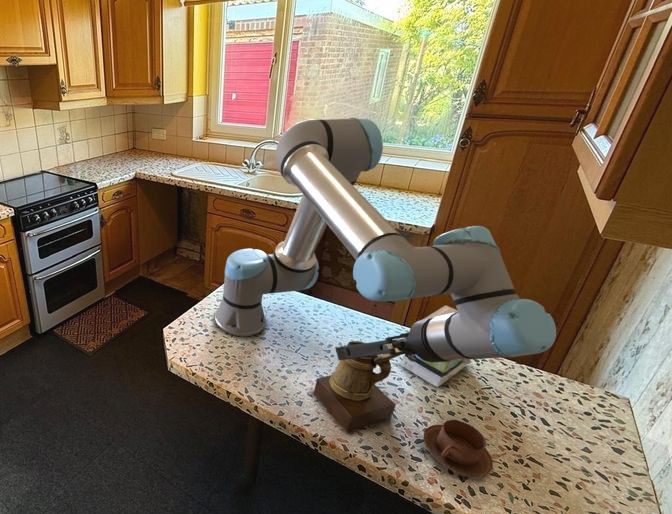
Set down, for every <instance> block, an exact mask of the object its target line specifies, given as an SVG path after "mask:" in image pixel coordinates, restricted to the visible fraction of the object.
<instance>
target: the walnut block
mask: <svg viewBox="0 0 672 514" xmlns="http://www.w3.org/2000/svg"><path fill="white" fill-rule="evenodd" d="M331 376H332V374H330V375H326V376H321V377H318V378H316V381H315V386H314V389H313V395H314V396H315V397H316V398H317V400H318V401H319V402H320V403H321V404H322V405H323V407H324V408H325V409H326V410H327V411H328V413H329V414H330V415H331V416H332V417H333V418H334V419H335V421H336V422H337V423H338V424H339V426H340V427H341V428H342V429H343V430H344V431H345V433H351V432H354V431H357V430H361V429H364V428H368V427H371V426H374V425H379V424H382V423H385V422H388V421H390V420H391V419H392V416H393V414H394V411H395V408H396V406H397V404H396V403H395V402H394V401H393V400H392V399H391V398H390V397H389V396H388V395H387V394H385V392H383V391H382V390H381V389H380V388H379V387H378V386H377V385H376V384H374V385H373V391H372V395H371V396H370V397H369V398H367V399H365V400H361V401H357V400H351V399H348V398H345V397H343V396H341V395H339V394H338V393H336V392H335V391H334V390H333V389H332V387H331V385H330V378H331Z"/></svg>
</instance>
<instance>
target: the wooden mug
mask: <svg viewBox="0 0 672 514" xmlns="http://www.w3.org/2000/svg"><path fill="white" fill-rule="evenodd" d="M350 342H353V344H356V345H357V344H364V343H365V342H363V341H359V340H352V341H350ZM346 345H349V342H347V344H346ZM394 349H395V351H396V352H402V351H399V350H398V349H397V348H394ZM406 351H408V350H406ZM400 356H401V355H394V356H392V355H390V354H382V355H374V356H366V357H360V358H354V359H346V360H338V364H337V365H336V368H335V369H334V371H333V372H332V374H331V375H332V376H331V378H330V385H331V387H332V389H333V390H334V391H335V392H336V393H338V394H339V395H341V396H343V397H345V398H348V399H351V400H357V401H361V400H365V399H367V398H369V397H370V396H371V395H372V391H373V385H374V384H375V385H376V384H378V383H379V382H382V381H384V380H385V379H387V378H388V377H389V376H390V374H391V371H392V364H391V360H392V359H395V358H398V357H400ZM377 366H378V367H379V369H380V372H378V373H377V372H375V371H374V369H376V368H377Z"/></svg>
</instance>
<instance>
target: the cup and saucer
mask: <svg viewBox="0 0 672 514" xmlns="http://www.w3.org/2000/svg"><path fill="white" fill-rule="evenodd" d="M423 442H424V445H425V447H426V449H427V451H428V452H429V453H430V455H431V456H432V457H433V458H434V459H435V460H436V461H437V462H439V463H440V464H441V465H443V466H444V467H446V468H447V469H449V470H451V471H453V472H454V473H457V474H460V475H463V476H467V477H472V478H481V477H485V476H486V475H488V474H490V473H491V472H492V471H493V468H494V462H493V458H492V455H491V454H490V452H489V450H488V449H487V448H486V447H487V440H486V438H485V436H484V434H482V432H480V431H479V430H478V429H477V428H476V427H474V426H473V425H471V424H470V423H466V422H465V421H462V420H458V419H447V420H446V421H445V422H443V423H442V424H432V425H430V426H428V427H427V428H426V429H425V430H424V432H423Z"/></svg>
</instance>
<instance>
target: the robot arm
mask: <svg viewBox="0 0 672 514" xmlns="http://www.w3.org/2000/svg"><path fill="white" fill-rule="evenodd" d="M382 136H383V135H382V133H381V130H380V128H379V126H378V125H377V124H376V123H375V122H374V121H373V120H371V119H368V118H357V117H349V118H320V119H319V118H318V119H317V118H314V119H313V118H311V119H305V120H301V121H299V122H296V123H294V124H293V125H291V126H290V127H289V128H287V129H286V131H285V132H284V133H283V134H282V136H280V139H279V140H278V143H277V145H276V148H275V164H276V167H277V170H278V172H279V174H280V175H281V176H282V178H283V179H284V180H285V182H286V184H289V185H290V186H294V187H297V189H299V192H301V194H302V195H301V197H300V198H301V199H300V201H299V203H298V205H297V208H296V211H295V213H294V216H293V218H292V221H291V223H290V226H289V229H288V231H287V233H286V235H285V238H284V240H283V241H281V242H278V244H277V245H276V247H275V249H274V252H273V253H271V254H270V253H269V254H267V253H265V252H264V251H263V250H260V249H257V248H255V249H253V248H242V249H239V250H235V251H234V252H232V253H231V254H230V255H229V256H228V257H227V259H226V263H225V267H224V281H223V293H222V299H221V301H220V303H219V305H218V307H217V309H216V311H215V315H214V320H215V324H216V326H217V327H218V328H219V329H220V330H221V331H223V332H224V333H226V334H229V335H232V336H235V337H251V336H256V335H258V334H260V333H261V332H262V331H263V330H264V328H265V325H266V318H267V313H268V312H266V313H265V312H264V307H263V296H264V295H268V294H279V293H281V294H282V293H290V292H300V291H303V290H308V289H310V288H312V287H313V286H314V285H315V283H316V282H317V280H318V277H319V271H318V270H319V269H320V266H319V261H318V259H317V257H316V253H315V251H316V249H317V247H318V245H319V243H320V241H321V239H322V237H323V235H324V233H325V231H326V229H327V227H329V229H330V230H331V231H332V232H333V234H334V235H335V236H336V237H337V238H338V240H339V241H340V243H342V245H343V246H344V247H345V249H346V250H347V251H348V252H349V254H350V255H351V256H352V258H353V259H354V260H355V262H354V265H353V268H352V277H353V280H354V281H355V282H356V285H355V287H356V289H357V292H359V294H360V295H362V297H364V298H365V299H367V300H368V301H372V302H403V301H406V300H411V299H419V298H425V297H435V296H442V295H443V296H444V295H450V296H451V298H452V301H453V304H454V306H455V307H456V310H457V311H458V312H455V313H450V314H446V315H441V316H437V317H434V318H429V319H424V318H423V319H424V320H422V319H420V320H417V321H416V322H414V323H413V324H412V325H411V326H410V328H409V331H408V332H404V333H400V334H399V335H395V336H393V335H392V336H387V337H385V339H383V340H378V341H371V342H363V343H364V344H357V345H356V344H353V342H351V341H348V343H349V345H347V344H346V345H343V346H337V347H335V351H336V355H337V356H336V357H337V360H338V361H340V360H346V359H354V358H360V357H366V356H374V355H383V354H390V355H392V356H394V355H400V356H402V355H405V354H406V355H413V354H416V355H417V356H419V357H420V358H421V359H423V360H425V361H427V362H432V363H436V362H449V361H457V360H463V362H464V363H465V364H466V365H470V364H471V363H472V360H484V359H485V360H486V359H503V358H515V357H522V356H529V355H537V354H541V353H543V352H546V351H547V350H549V349H550V348H551V347H552V346H553V345H554V344H555V341H556V337H557V327H556V324H555V323H556V322H555V321H554V318H553V316H552V315H551V314H550V313H548V312H546V311H545V307H544V306H543V305H542V304H540V303H539V302H536V301H534V300H531V299H528V298H520V297H519V295H518V293H517V292H516V289H515V286H514V284H513V282H512V279H511V277H510V274H509V272H508V270H507V267H506V264H505V262H504V260H503V257H502V254H501V249H500V247H499V246H498V245H497V244H496V241H495V239H494V237H493V235H492V233H491V231H490V230H489V228H486V227H484V226H482V225H472V226H471V225H470V226H466V227H463V228H462V227H461V228H457V229H454V230H450V231H447V232H444V233H442V234H440V235H438V236H437V237H435V238H434V240H433V243H432V244H433V245H426V246H416V247H415V246H413V245H412V244H410V242H409V241H408V240H407V239H406V238H405V237H403V236H402V234H401V233H400V232H399V231H398V230H397V229H396V228H395V227H394V226H393V225H392V224H391V223H390V222H389V221H388V220H387V219H386V217H384V216H383V215H382V214H381V213H380V212H379V211H378V210H377V209H376V208H375V207H374V205H372V204H371V202H369V200H368V199H367V198H366V197H365V196H364V195H363V194H362V193H361V192H360V191H359V190H358V189H357V188H356V187H355V186H354V185H356V183H357V180H359V179H358V178H359V176H360V175H361V173H362V172H365V173H366V172H369V171H370V170H373V169H375V168H376V167H377V166H378V164H379V163H380V161H381V159H382V155H383V150H384V142H383V137H382ZM394 348H397V349H398V350H399V351H402V352H396V351H395V349H394ZM406 350H408V351H406Z"/></svg>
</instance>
